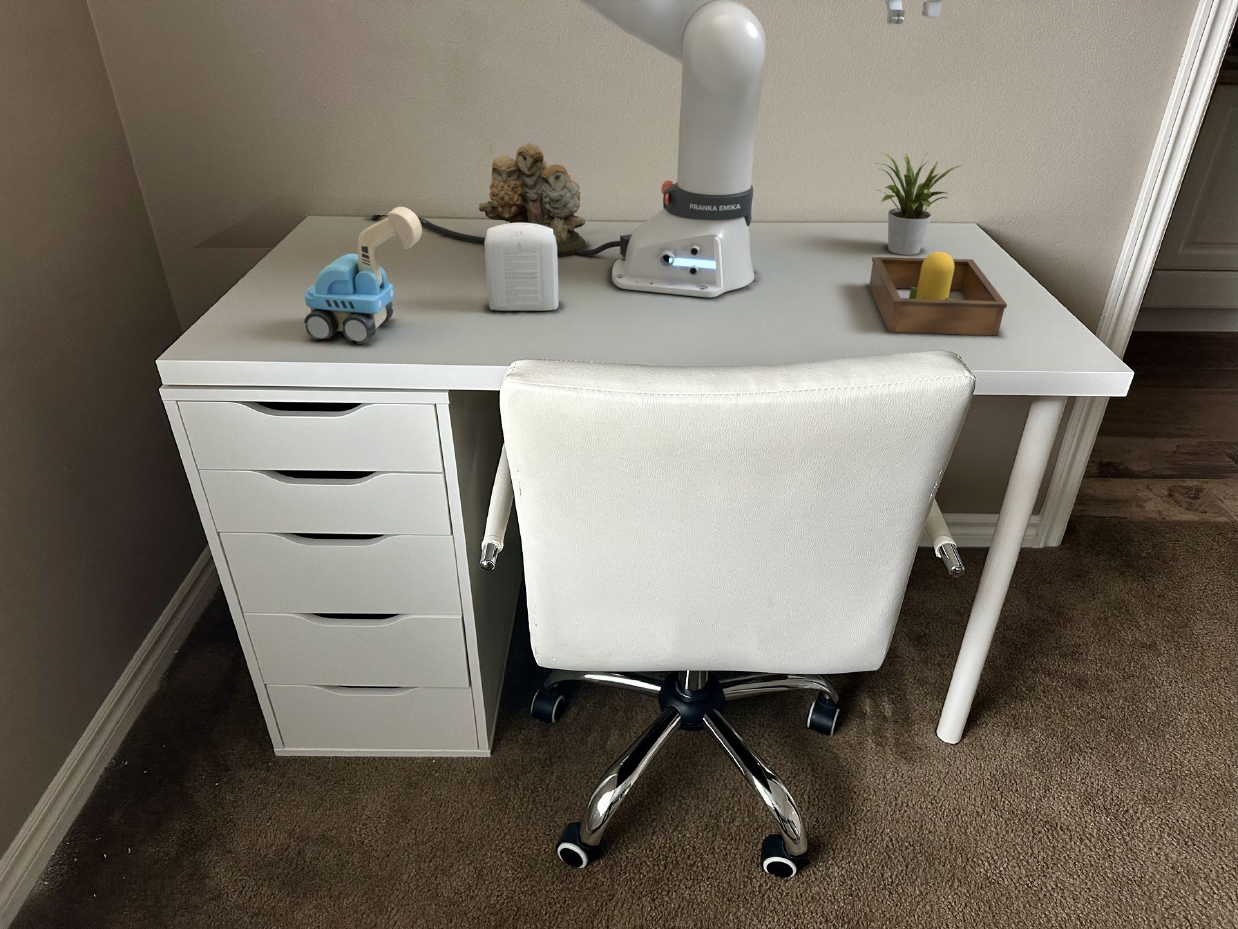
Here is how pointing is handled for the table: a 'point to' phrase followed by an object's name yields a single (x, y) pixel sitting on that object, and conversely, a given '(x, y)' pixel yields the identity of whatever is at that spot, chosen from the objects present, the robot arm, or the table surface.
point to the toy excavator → (359, 283)
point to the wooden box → (933, 314)
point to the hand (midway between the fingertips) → (912, 21)
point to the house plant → (910, 209)
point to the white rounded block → (521, 267)
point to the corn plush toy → (934, 277)
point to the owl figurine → (536, 196)
